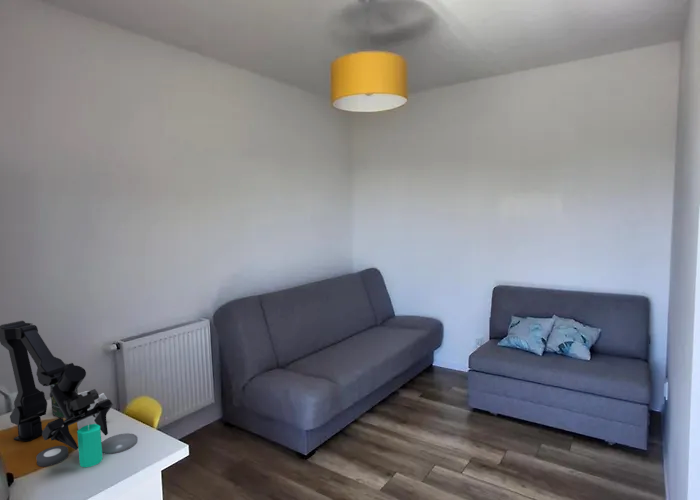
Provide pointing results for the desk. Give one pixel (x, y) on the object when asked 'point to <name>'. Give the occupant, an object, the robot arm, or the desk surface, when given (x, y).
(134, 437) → the slate coaster
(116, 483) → the desk surface
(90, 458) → the candle
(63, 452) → the dark grey washer
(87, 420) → the mug
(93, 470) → the desk surface
